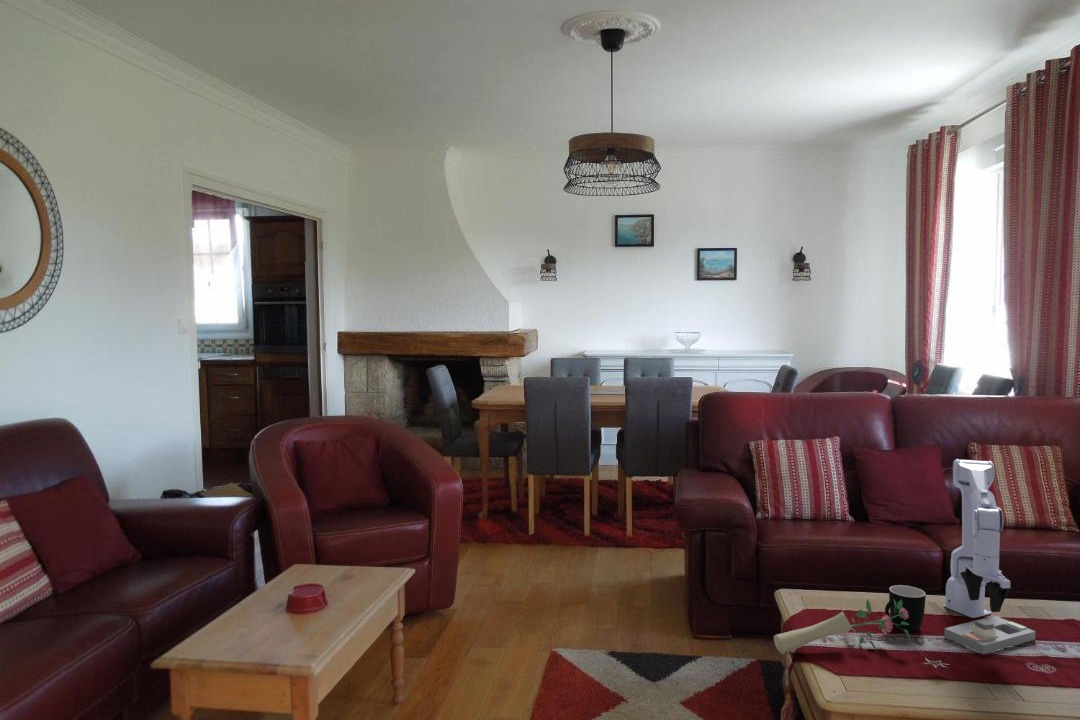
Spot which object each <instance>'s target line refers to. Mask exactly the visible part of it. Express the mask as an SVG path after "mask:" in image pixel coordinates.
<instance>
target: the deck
mask: <svg viewBox="0 0 1080 720" xmlns="http://www.w3.org/2000/svg"><path fill="white" fill-rule="evenodd" d="M979 620H987V621H989V622H991V623H993V624H994V628H995V629H996V637H995V639H991V640H987V641H986V640H983V639H982V638H980V637H978V636H975V635H973V625H975V621H976V620H973V621H968V622H965V623H961V624H957V625H954V626H953V625H952V626H949V627H946V628H945V627H944V633H943V634H944V635H943V637H946V638H945V639H947V638H949V639H951V640H954V641H956V642H958V643H960V644H963V645H965V646H967V647H969V648H971V649H974V650H976V651H978V652H980V653H982V654H981V655H983V654H985V653H989V652H992V651H995V650H998V649H1002V648H1006V647H1009V646H1013V645H1017V644H1020V643H1023V642H1027V641H1031V640H1034V639H1035V640H1036V630H1033V629H1031V628H1028V627H1027V626H1026V625H1025V626H1024V625H1023V624H1019V623H1017V622H1014V621H1010V620H1007V619H1005V618H1002V617H999V616H997V615H992V616H989V617H985V618H980V619H979ZM1005 632H1006V633H1005ZM1007 633H1009V634H1007ZM949 639H948V640H949ZM951 640H950V641H951ZM956 642H955V643H956ZM958 643H957V644H958ZM960 644H959V645H960ZM965 646H964V647H965ZM1017 646H1018V645H1017ZM967 647H966V648H967ZM969 648H968V649H969ZM971 649H970V650H971ZM974 650H973V651H974ZM976 651H975V652H976ZM978 652H977V653H978ZM980 653H979V654H980ZM992 653H993V652H992ZM989 654H990V653H989ZM985 655H986V654H985Z"/></svg>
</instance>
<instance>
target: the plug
mask: <svg viewBox="0 0 1080 720" xmlns="http://www.w3.org/2000/svg"><path fill="white" fill-rule="evenodd" d="M974 621H975V625H973V635H975V636H978V637H980V638H982V639H983V640H986V641H987V640H991V639H995V637H996V629H995V628H994V624H993V623H991V622H989V621H987V620H980V619H975V620H974Z"/></svg>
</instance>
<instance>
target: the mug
mask: <svg viewBox="0 0 1080 720" xmlns="http://www.w3.org/2000/svg"><path fill="white" fill-rule="evenodd" d="M888 591H889V592H888V602H887V603H886V604H885V608H884V615H887V616H889V617H894V616H897V615H899V612H898V611H899V610H900V609H897V607H896V609H894V608H895V603H894V600H895V602H896V605H897V604H898V602H899V601H900V600H901V599H902V603H903V605H902V608H905V609H906V610H907V611H908V615H909V617H908V618H906V619H904V618H902V617H901V618H900V615H899V616H897V617H894V618H891V621H892V622H893V623H894V624H892V626H893V627H894V628H896V629H898V630H899V631H900V630H901V631H903V632H905V631H904V630H905V629H906V630H907V631H908V632H910V631H913V632H918V631H919V630H920V629H921V627H922V623H923V620H924V616H925V608H926V592H925V591H924V590H922V589H921V588H918V587H916V586H915V587H914V586H911V585H902V584H898V585H892V586H890V587H889V589H888ZM896 610H897V611H896ZM895 612H896V613H895ZM901 622H906V623H908V624H910V625H902V624H901ZM896 624H897V626H896ZM900 624H901V625H900ZM899 627H900V628H899Z"/></svg>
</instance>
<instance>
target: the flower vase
mask: <svg viewBox="0 0 1080 720" xmlns="http://www.w3.org/2000/svg"><path fill="white" fill-rule="evenodd" d="M894 603H895V608H894V609H896V607H897V609H900V610H899V611H898V612H899V615H900V618H901V617H902V618H904V619H906V618H908V617H909V615H908V611H907V610H906V609H905V608H902V605H903V603H902V599H901V600H900V601H899V602H898V604H897V605H896V602H895V600H894ZM865 609H866V612H865V611H864V610H863V609H860V608H859V609H858V612H856V614H855V616H856V617H858V618H859V620H858V623H857V624H856V622H855V620H854V618H853V617H851V622H849V620H848V618H847V616H846V614H845V613H844V611H843V610H842V611H841V612H839V613H838V614H836V615H834V616H833V617H831V618H828V619H826V620H823V621H820V622H818V623H816V624H814V625H810V626H805V627H803V628H797V629H793V630H789V631H787V632H785V631H784V632H782V633H778V634H777V633H776V634H775V635H773V642H774V645H775V648H776V649H777V651H778V652H779V653H780V655H784V654H786V653H789V652H790V651H791V652H792V651H794V650H796V649H798V648H800V647H803V646H805V645H807V644H809V643H811V642H814V641H816V640H819V639H824V638H826V637H829V636H834V635H841V634H842V635H843V634H847V633H848V632H849V631H850V630H852V631H853V632H855V635H858V632H857V631H856V630H855V629H854V627H856V628H858V630H860V632H861V636H860V639H859V641H858V645H860V644H863V643H864V641H865V639H867V638H866V636H865V635H864V634H866V635H867V636H868V637H869V638H870V639H873V638H874V637H873V634H872V633H871V632H870V631H867V632H866V633H865V632H862V630H861V629H860V628H859V626H866V625H867V626H868V625H879V626H878V629H877V630H879V629H881V633H883V635H886V636H887V635H888V634H889V633H891V632H892V630H893V629H894V625H893V624H894V623H893V622H892V621H891V618H894V617H897V616H899V615H897V616H894V617H891V616H890V615H889V616H887V615H885V614H884V615H883V616H881V618H877V620H873V621H867V619H868V615H870V614H872V612H873V611H872V607H871V602H870V600H869V599H868V598H866V602H865ZM896 611H897V610H896ZM867 613H868V614H867ZM895 613H896V612H895ZM862 618H865V620H864V622H862V623H860V620H861V619H862ZM851 623H854V624H851ZM901 624H902V625H910V624H908V623H906V622H901ZM901 624H900V625H901ZM896 626H897V624H896ZM899 628H900V627H899ZM903 632H905V634H906V635H907V637H908V638H909V639H911V637H910V633H909V631H907V630H906V629H905V630H904V631H903ZM864 638H865V639H864ZM868 642H869V643H870V645H871V647H873V649H874V651H877V650H876V646H875V643H874V642H873V641H872V640H868Z"/></svg>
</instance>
